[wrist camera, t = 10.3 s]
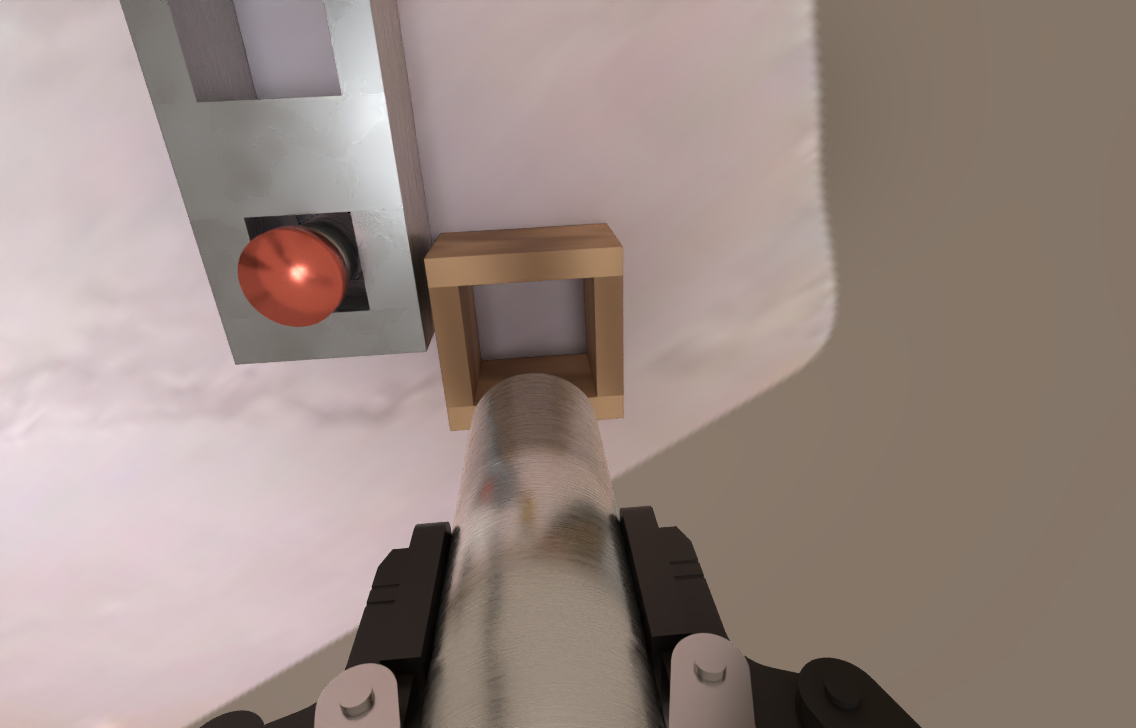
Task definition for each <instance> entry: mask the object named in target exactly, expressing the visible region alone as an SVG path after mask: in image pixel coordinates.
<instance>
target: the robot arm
mask: <svg viewBox="0 0 1136 728" xmlns="http://www.w3.org/2000/svg"><path fill="white" fill-rule="evenodd" d="M620 525H621V530H622V534H623V538H624V543H625V547H626V552H627V556H628V561H629V565H630V570H631V574H632V579H633V583H634V587H635V592H636V596H637V601H638V605H639V610H640V614H641V619H642V623H643V627H644V632H645V636H646V641H647V645H648V650H649V654H650V659H651V663H652V667H653V670H654V675H655V679H656V684H657V688H658V692H659V697H660V701H661V706H662V710H663V715H664V719H665V724H666V728H921V727H920V726H919V725H918V724H917V723H916V722H915V721H914V720H913V719H912V718H911V717H910V716H909V715H908V714H907V713H906V712H905V711H904V710H903V709H902V708H901V707H900V706H899V705H898V704H897V703H896V702H895V701H894V700H893V699H892V698H891V697H890V696H889V695H888V694H887V693H886V692H885V691H884V690H883V689H882V688H881V687H880V686H879V685H878V684H877V683H876V682H875V681H874V680H873V679H872V678H871V677H870V676H869V675H868V674H867V673H866V672H864V671H863V670H861V669H860V668H858V667H857V666H855V665H853V664H851V663H849V662H846V661H843V660H840V659H835V658H819V659H815V660H812V661H810V662H809V663H807V664H806V665H805V666H804V667H803V668H802V670H801V672H800V673H795V672H790V671H785V670H781V669H776V668H771V667H767V666H764V665H761V664H759V663H756V662H754V661H752V660H750V659H749V658H747V657H746V656H744V655H743V653H742V652H741V651H740V649H739V648H737V646H735V645H734V644H733V643H731V641H730V640H729V638H728V637H727V634H726V632H725V630H724V627H723V624H722V622H721V619H720V616H719V614H718V611H717V608H716V606H715V603H714V601H713V598H712V595H711V593H710V590H709V587H708V585H707V582H706V579H705V578H704V575H703V571H702V569H701V566H700V563H698V558H697V556H696V553H695V550H694V548H693V545H692V542H691V541H690V540H689V539H688V538H687V537H686V536H685V535H684V534H683V533H682V532H681V531H680V530H679V529H678V528H677V527H676V526H674V527H663V528H659V527H658V524H657V521H656V518H655V514H654V511H653V508H652V507H651V506H641V507H630V508H620ZM451 536H452V532H451V527H450V524H449V522H438V523H426V524H417V525H416V526H415V528H414V531H413V535H412V538H411V542H410V546H409V548H403V549H393V550H392V551H391V552H390V553H389V554H388V556H387V557H386V558H385V559H384V560H383V562H382V563H381V564H380V565H379V566H378V569H377V572H376V575H375V578H374V581H373V584H372V590H371V591H370V594H369V597H368V600H367V607H365V609H364V613H363V616H362V619H361V622H360V625H359V628H358V631H357V635H356V638H355V641H354V644H353V647H352V650H351V653H350V656H349V660H348V663H347V666H346V668H345V671H344V672H342V673H341V674H339V675H338V676H336V677H335V678H334V679H333V680H332V681H331V682H330V683H329V684H328V685H327V686H326V688H325V689H324V690H323V692H322V693H321V695H320V697H319V699H318V701H317V702H316V703H314V704H313V705H311V706H309V707H308V708H305V709H303V710H301V711H298V712H296V713H293V714H291V715H288V716H286V717H283V718H281V719H278V720H276V721H273V722H270V723H268V724H265V725H264V723H263V721H262V719H261V718H260V717H259V716H258V715H257V714H255V713H253V712H250V711H233V712H229V713H226V714H223V715H220V716H218V717H216V718H214V719H212V720H211V721H209V722H207V723H206V724H204V725H203V726H202V727H200V728H419V722H420V716H421V710H422V704H423V699H424V693H425V687H426V681H427V675H428V670H429V664H430V658H431V652H432V646H433V641H434V635H435V629H436V623H437V617H438V612H439V606H440V600H441V594H442V588H443V583H444V577H445V571H446V565H447V560H448V554H449V548H450V542H451Z"/></svg>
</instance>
